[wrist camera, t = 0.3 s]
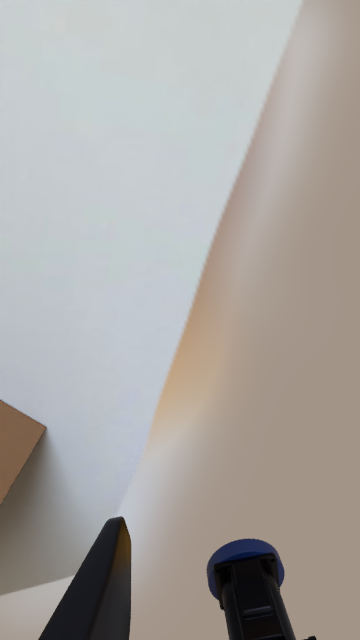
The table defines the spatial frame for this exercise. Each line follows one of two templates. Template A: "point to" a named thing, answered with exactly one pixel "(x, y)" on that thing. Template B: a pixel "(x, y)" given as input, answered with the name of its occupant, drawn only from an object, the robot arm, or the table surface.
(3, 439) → the carton
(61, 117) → the table surface
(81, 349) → the table surface
